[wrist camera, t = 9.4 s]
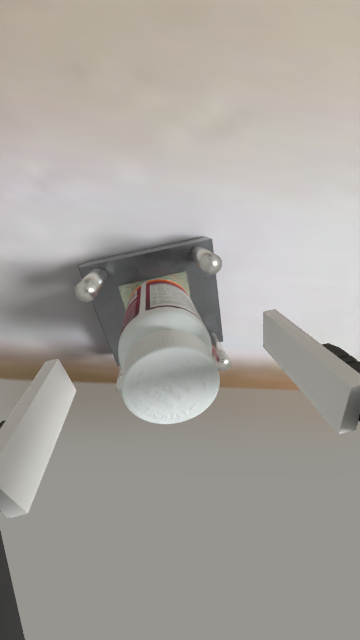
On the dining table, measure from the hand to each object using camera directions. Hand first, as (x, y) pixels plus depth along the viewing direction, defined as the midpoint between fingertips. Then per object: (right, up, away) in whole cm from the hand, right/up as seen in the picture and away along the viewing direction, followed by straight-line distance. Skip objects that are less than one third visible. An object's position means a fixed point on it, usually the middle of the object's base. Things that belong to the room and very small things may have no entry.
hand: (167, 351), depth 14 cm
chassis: (-2, +4, +10) cm, 11 cm away
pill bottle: (-1, +3, +7) cm, 8 cm away
